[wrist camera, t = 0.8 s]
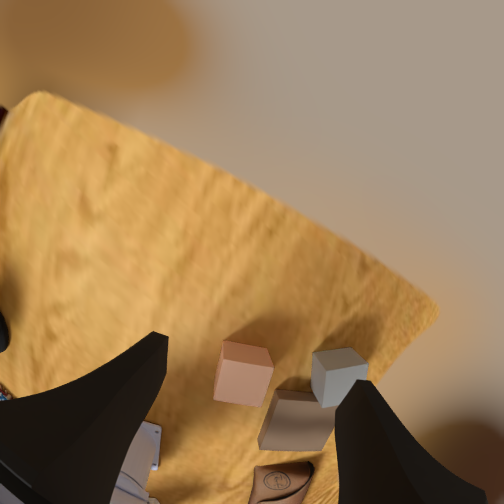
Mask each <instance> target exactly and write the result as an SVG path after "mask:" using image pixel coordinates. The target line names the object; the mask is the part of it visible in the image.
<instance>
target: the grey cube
mask: <svg viewBox="0 0 504 504" xmlns="http://www.w3.org/2000/svg"><path fill="white" fill-rule="evenodd" d="M368 365H369V363H368V362H367V361H365V360H364V359H363V358H362V357H361V356H360V355H359V354H358V353H357V352H356V351H355V350H354V349H352V348H351V347H347V348H341V349H334V350H327V351H319V352H313V357H312V371H311V384H310V387H311V389H312V391H313V393H314V395H315V396H316V398H317V400H318V402H319V403H320V405H321V407H322V408H326V407H332V406H337V405H339V404H340V403H341V402H342V400H343V399H344V397H345V396H346V395H347V393H348V392H349V390H350V389H351V387H352V386H353V384H354V383H355V381H356V380H357V379H360V380H366V377H367V371H368Z"/></svg>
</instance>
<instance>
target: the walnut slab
mask: <svg viewBox="0 0 504 504" xmlns="http://www.w3.org/2000/svg"><path fill="white" fill-rule="evenodd" d="M338 406H339V405H337V406H332V407H326V408H322V407H321V405H320V403H319V402H318V400H317V398H316V396H315V395H314V393H312V392H300V391H289V390H280V389H275V391H274V394H273V397H272V400H271V403H270V406H269V409H268V411H267V414H266V417H265V420H264V423H263V425H262V428H261V431H260V433H259V436H258V445H259V450H272V451H322V449H323V447H324V445H325V443H326V441H327V440H328V438H329V436H330V434H331V432H332V430H333V428H334V426H335V410H336V409H337V407H338Z"/></svg>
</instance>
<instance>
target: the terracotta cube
mask: <svg viewBox="0 0 504 504" xmlns="http://www.w3.org/2000/svg"><path fill="white" fill-rule="evenodd" d="M273 370H274V366H273V363H272V360H271V358H270V355H269V352H268V350H267V348H263V347H257V346H252V345H246V344H241V343H236V342H231V341H226V340H223V344H222V348H221V352H220V357H219V361H218V365H217V369H216V374H215V380H214V399H213V400H217V401H222V402H228V403H234V404H241V405H248V406H255V407H262V404H263V401H264V398H265V395H266V392H267V389H268V386H269V383H270V380H271V377H272V373H273Z"/></svg>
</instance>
